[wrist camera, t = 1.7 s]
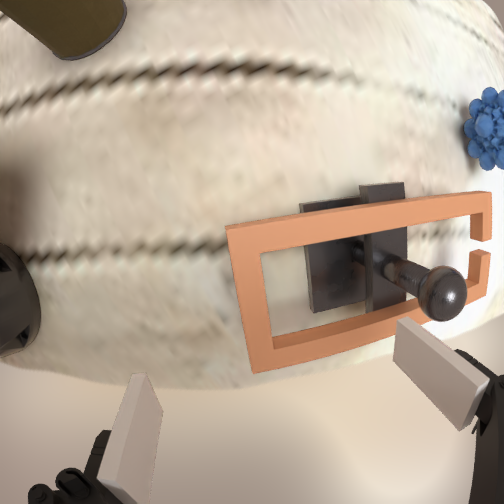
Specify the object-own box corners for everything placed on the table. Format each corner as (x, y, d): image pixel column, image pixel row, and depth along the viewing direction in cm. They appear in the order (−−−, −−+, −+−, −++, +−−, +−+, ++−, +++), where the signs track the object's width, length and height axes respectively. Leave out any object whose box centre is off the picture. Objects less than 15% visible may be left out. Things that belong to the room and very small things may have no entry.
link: (249, 360, 24) (252, 373, 22) (224, 226, 21) (226, 230, 19) (475, 290, 27) (485, 295, 25) (479, 190, 24) (491, 192, 22)
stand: (311, 320, 32) (380, 417, 16) (297, 189, 29) (391, 196, 13) (396, 297, 34) (486, 359, 17) (392, 178, 30) (508, 185, 14)
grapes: (440, 89, 28) (501, 72, 16) (467, 97, 29) (524, 86, 17) (451, 169, 31) (518, 171, 19) (477, 170, 31) (538, 174, 20)
